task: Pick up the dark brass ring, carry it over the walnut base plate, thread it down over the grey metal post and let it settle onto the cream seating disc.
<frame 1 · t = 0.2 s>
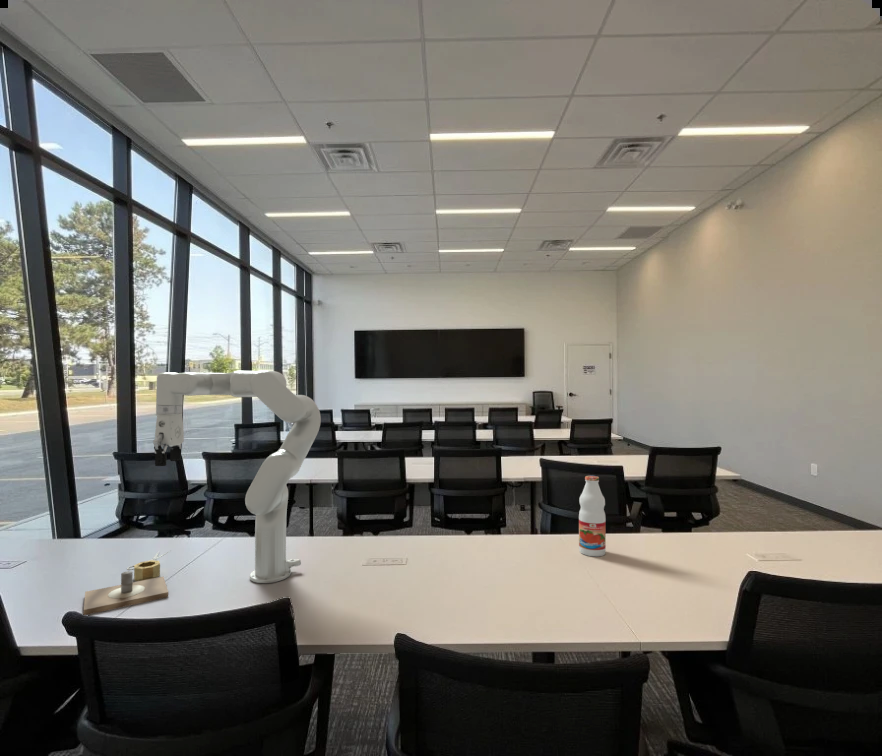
hand: (168, 463, 159), 36 cm above the table, tool pointing down, fingers open, 9 cm apart
ring: (147, 576, 158), on the table
scissors: (153, 562, 173), on the table
fruit juice: (592, 553, 181), on the table
post plate: (126, 597, 143), on the table
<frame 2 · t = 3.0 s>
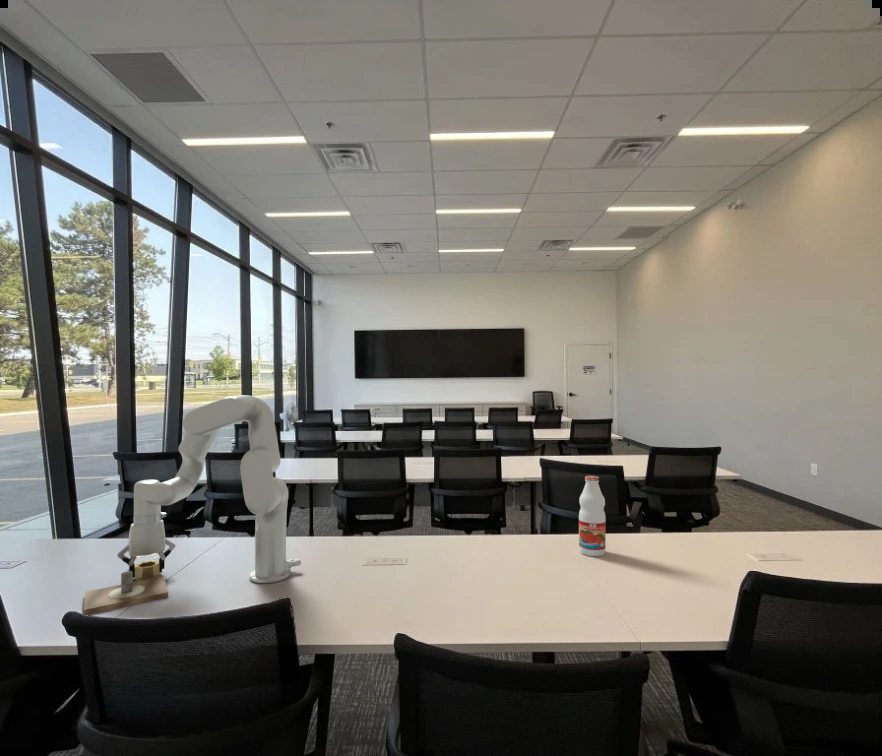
hand: (147, 573, 158), 1 cm above the table, tool pointing down, fingers closed on ring, 7 cm apart
ring: (146, 576, 158), on the table, touching gripper
everything else where it was.
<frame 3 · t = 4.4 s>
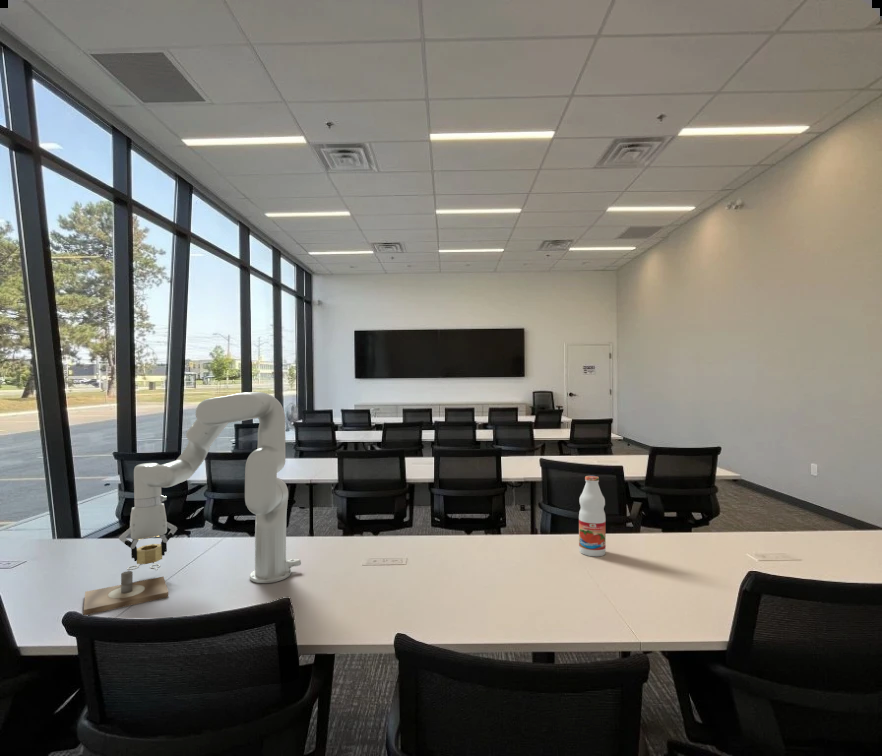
hand: (149, 556, 158), 6 cm above the table, tool pointing down, fingers closed on ring, 7 cm apart
ring: (149, 560, 158), point 5 cm above the table, touching gripper
everything else where it was.
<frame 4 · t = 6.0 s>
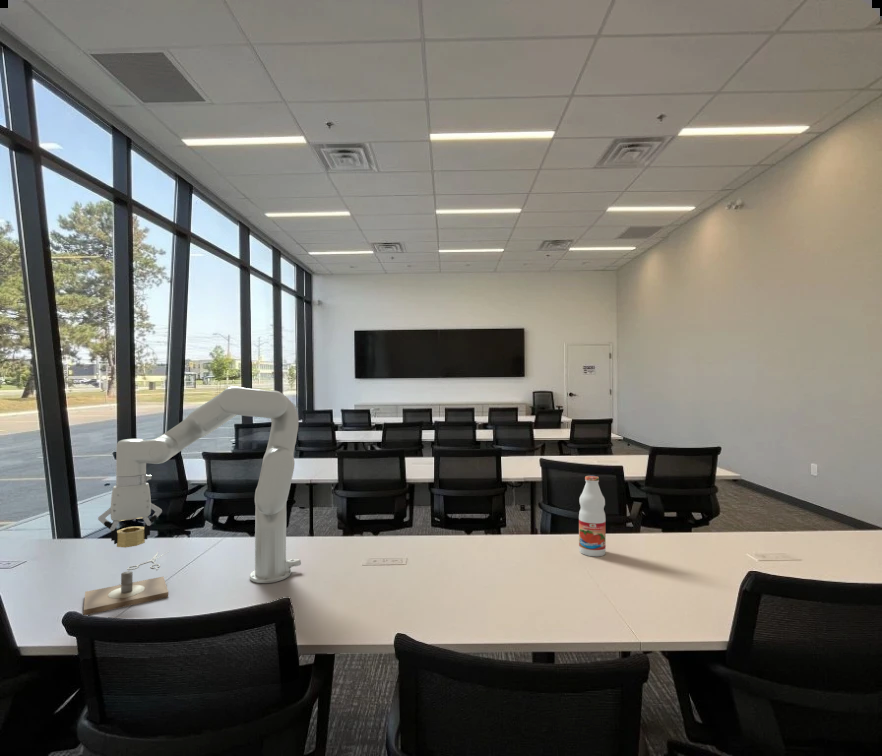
hand: (130, 540, 146), 16 cm above the table, tool pointing down, fingers closed on ring, 7 cm apart
ring: (130, 543, 146), point 15 cm above the table, touching gripper
everything else where it was.
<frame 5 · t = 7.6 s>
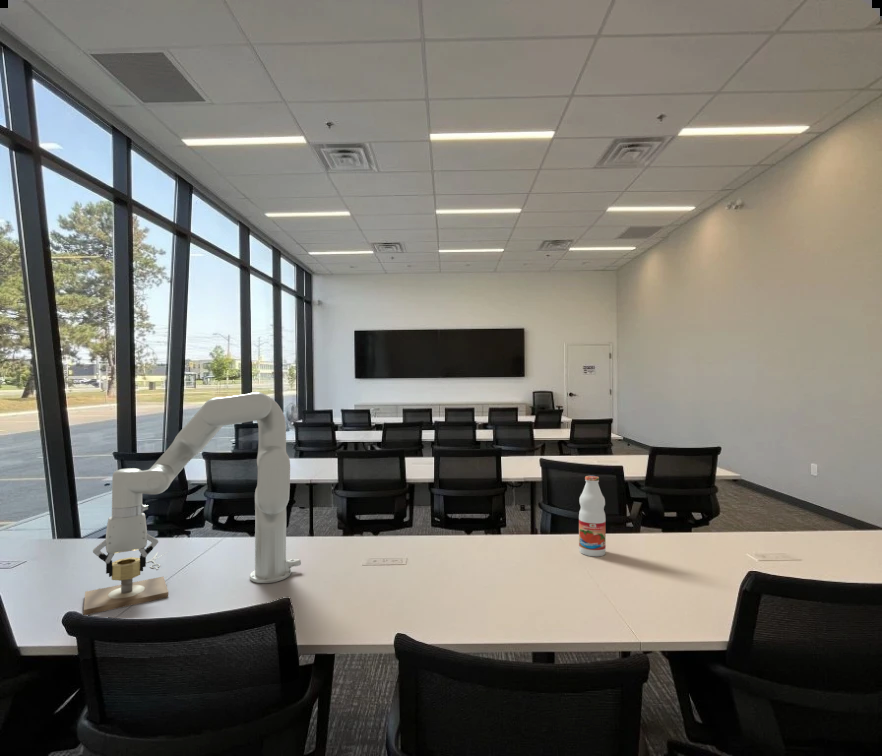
hand: (126, 572, 143), 7 cm above the table, tool pointing down, fingers closed on ring, 7 cm apart
ring: (126, 575, 143), point 6 cm above the table, touching gripper
everything else where it was.
when the fingers open (4 cm above the table, at t = 8.8 s): ring drops 1 cm, resting on post plate.
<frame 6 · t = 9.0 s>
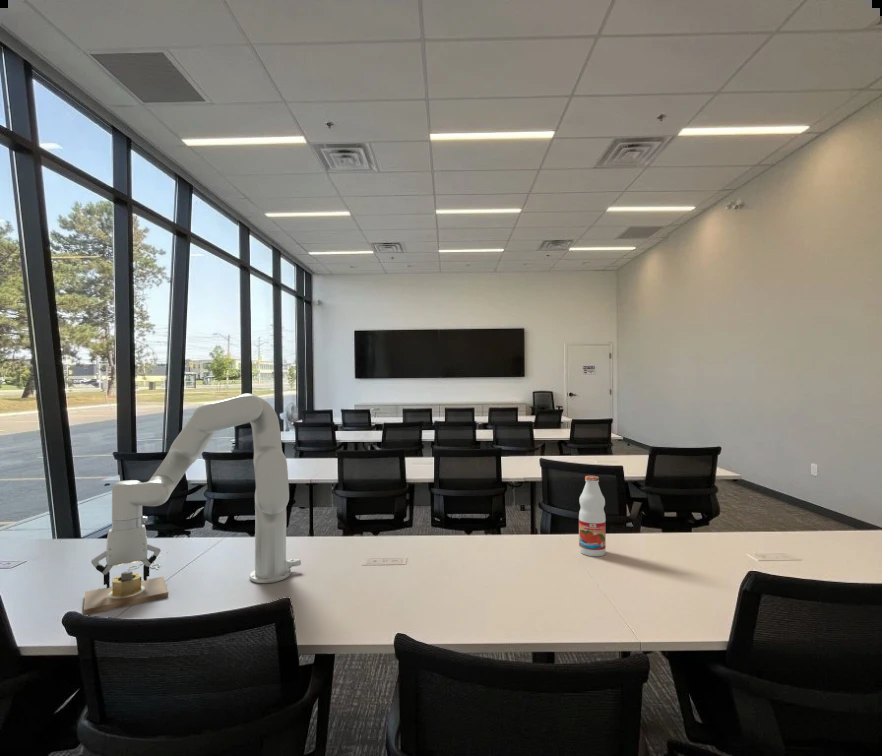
hand: (126, 582, 143), 4 cm above the table, tool pointing down, fingers open, 8 cm apart
ring: (126, 591, 143), point 2 cm above the table, touching post plate
everything else where it was.
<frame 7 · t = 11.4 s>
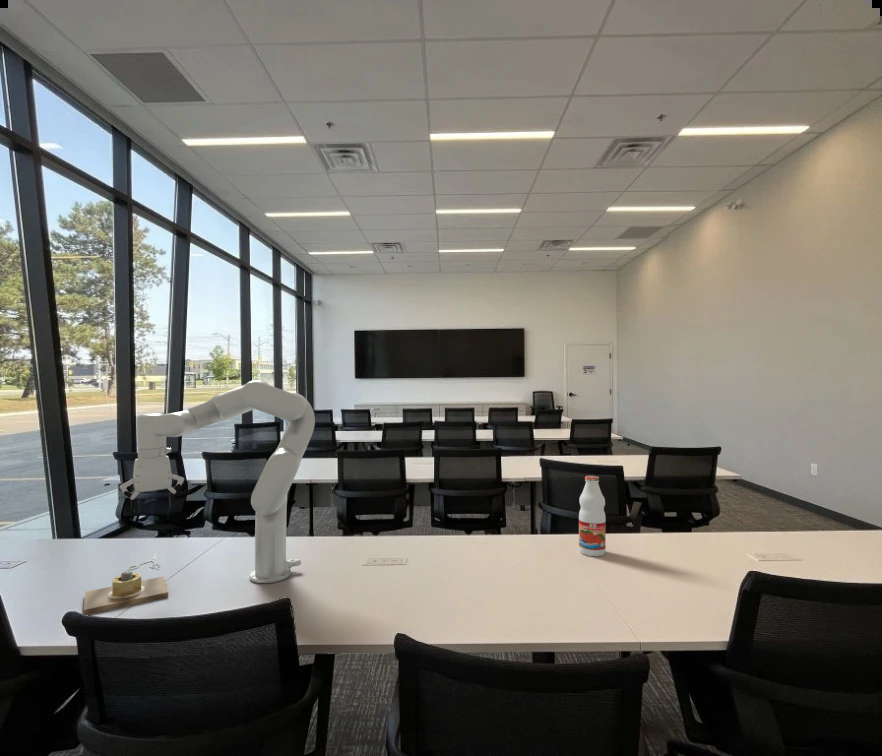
hand: (153, 508, 152), 24 cm above the table, tool pointing down, fingers open, 9 cm apart
nothing on the table moved.
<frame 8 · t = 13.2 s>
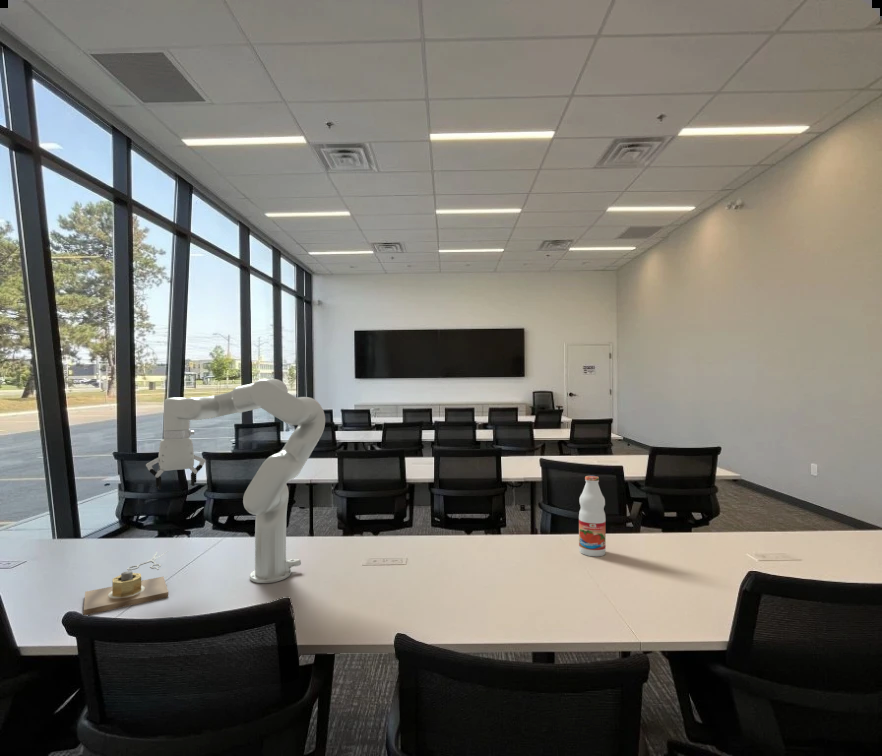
hand: (176, 487, 161), 28 cm above the table, tool pointing down, fingers open, 9 cm apart
nothing on the table moved.
at the end: ring 0.0 cm from the post plate (horizontally); ring point 1.6 cm above the table; the gripper is holding nothing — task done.
